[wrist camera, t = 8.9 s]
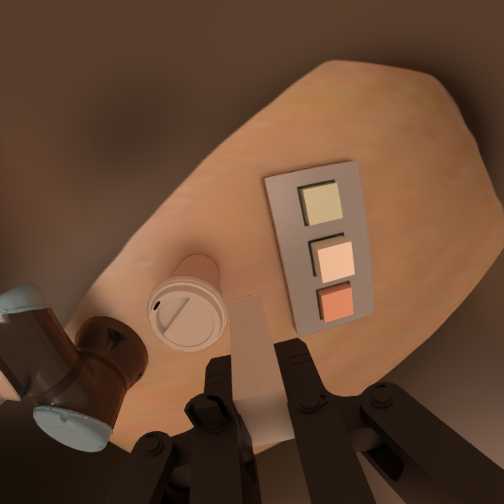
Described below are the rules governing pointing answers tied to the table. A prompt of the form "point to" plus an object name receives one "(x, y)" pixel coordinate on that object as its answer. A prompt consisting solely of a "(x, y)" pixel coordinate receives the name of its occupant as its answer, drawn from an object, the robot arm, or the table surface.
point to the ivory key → (333, 258)
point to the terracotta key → (335, 301)
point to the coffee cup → (189, 306)
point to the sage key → (320, 203)
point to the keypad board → (302, 235)
